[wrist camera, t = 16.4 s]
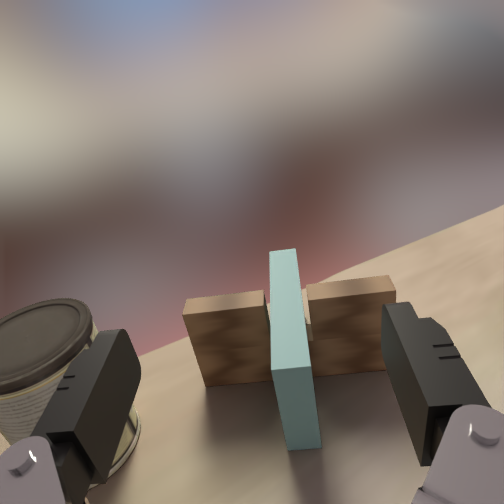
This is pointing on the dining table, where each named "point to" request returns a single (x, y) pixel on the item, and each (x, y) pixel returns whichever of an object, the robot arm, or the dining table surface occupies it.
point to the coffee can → (46, 366)
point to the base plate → (318, 332)
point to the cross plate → (291, 354)
